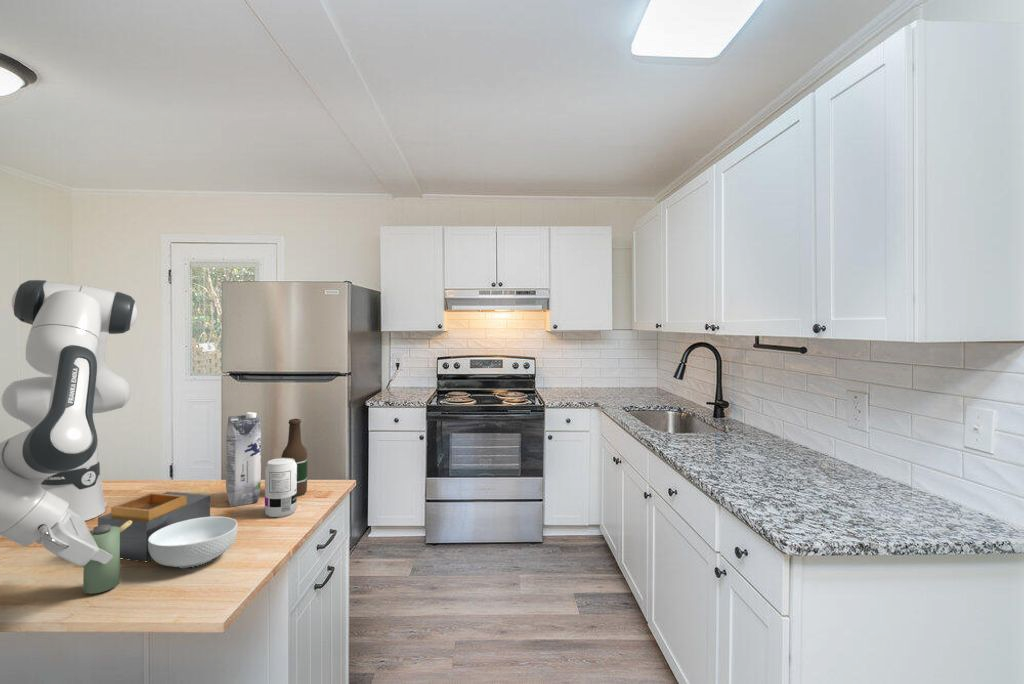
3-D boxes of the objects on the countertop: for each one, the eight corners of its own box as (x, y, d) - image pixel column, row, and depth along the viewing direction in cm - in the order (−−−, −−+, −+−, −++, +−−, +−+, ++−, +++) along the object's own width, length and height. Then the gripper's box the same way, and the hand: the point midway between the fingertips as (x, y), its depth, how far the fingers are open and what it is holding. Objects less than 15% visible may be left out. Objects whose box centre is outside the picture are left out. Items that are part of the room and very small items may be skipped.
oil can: (85, 596, 92) (85, 534, 91) (81, 586, 95) (81, 526, 95) (134, 582, 97) (135, 523, 97) (129, 572, 101) (129, 516, 101)
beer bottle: (297, 499, 148) (297, 422, 147) (275, 496, 149) (275, 420, 149) (312, 490, 155) (313, 417, 155) (291, 488, 157) (292, 416, 156)
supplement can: (258, 515, 134) (258, 462, 134) (282, 505, 142) (282, 456, 141) (279, 520, 131) (279, 466, 131) (302, 510, 139) (303, 459, 138)
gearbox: (86, 555, 109) (86, 507, 109) (157, 524, 127) (157, 482, 127) (146, 562, 107) (146, 512, 106) (210, 529, 124) (210, 487, 124)
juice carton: (227, 509, 138) (227, 417, 138) (225, 498, 147) (226, 411, 146) (261, 503, 143) (262, 414, 143) (257, 493, 152) (258, 409, 151)
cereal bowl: (243, 539, 119) (243, 511, 119) (229, 571, 103) (229, 539, 103) (162, 549, 113) (162, 520, 113) (134, 584, 97) (134, 550, 97)
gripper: (60, 519, 83) (131, 556, 91) (49, 491, 97) (111, 524, 104) (24, 553, 80) (100, 588, 87) (17, 519, 93) (83, 551, 101)
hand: (106, 553), depth 96 cm, fingers closed on oil can, 5 cm apart
